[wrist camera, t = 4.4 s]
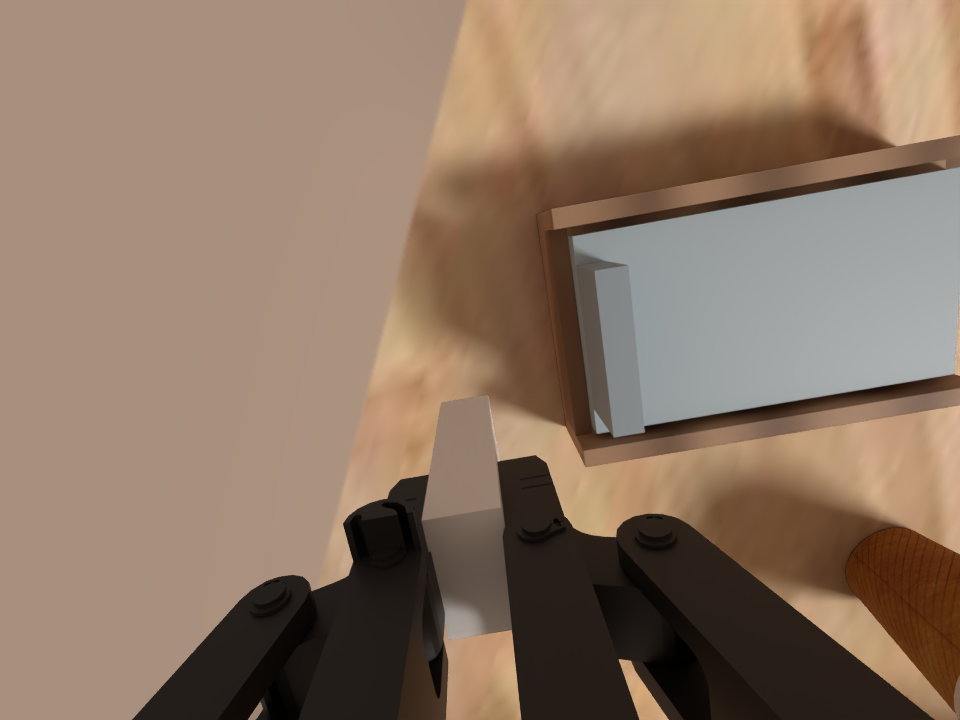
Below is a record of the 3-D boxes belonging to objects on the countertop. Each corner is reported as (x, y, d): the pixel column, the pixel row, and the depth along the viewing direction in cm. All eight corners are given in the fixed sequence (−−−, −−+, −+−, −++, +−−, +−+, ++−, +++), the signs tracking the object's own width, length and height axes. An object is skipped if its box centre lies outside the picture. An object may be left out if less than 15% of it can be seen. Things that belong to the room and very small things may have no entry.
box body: (901, 148, 29) (1007, 126, 24) (894, 371, 33) (985, 401, 27) (535, 214, 30) (551, 208, 24) (566, 427, 33) (585, 467, 28)
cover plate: (945, 169, 26) (1059, 152, 21) (934, 368, 29) (1034, 396, 23) (567, 236, 26) (590, 236, 21) (592, 426, 29) (616, 465, 24)
